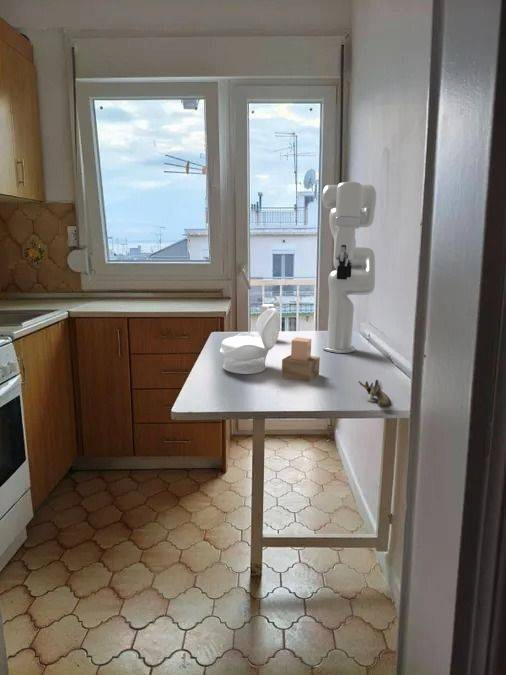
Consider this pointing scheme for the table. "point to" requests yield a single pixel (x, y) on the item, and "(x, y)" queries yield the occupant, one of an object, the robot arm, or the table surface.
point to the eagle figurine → (377, 393)
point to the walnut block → (300, 368)
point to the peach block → (301, 349)
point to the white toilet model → (251, 345)
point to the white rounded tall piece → (266, 307)
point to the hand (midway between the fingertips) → (343, 278)
